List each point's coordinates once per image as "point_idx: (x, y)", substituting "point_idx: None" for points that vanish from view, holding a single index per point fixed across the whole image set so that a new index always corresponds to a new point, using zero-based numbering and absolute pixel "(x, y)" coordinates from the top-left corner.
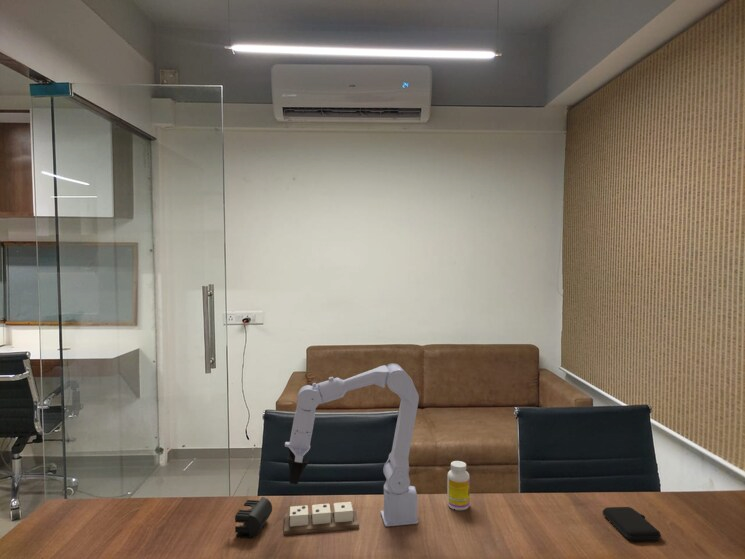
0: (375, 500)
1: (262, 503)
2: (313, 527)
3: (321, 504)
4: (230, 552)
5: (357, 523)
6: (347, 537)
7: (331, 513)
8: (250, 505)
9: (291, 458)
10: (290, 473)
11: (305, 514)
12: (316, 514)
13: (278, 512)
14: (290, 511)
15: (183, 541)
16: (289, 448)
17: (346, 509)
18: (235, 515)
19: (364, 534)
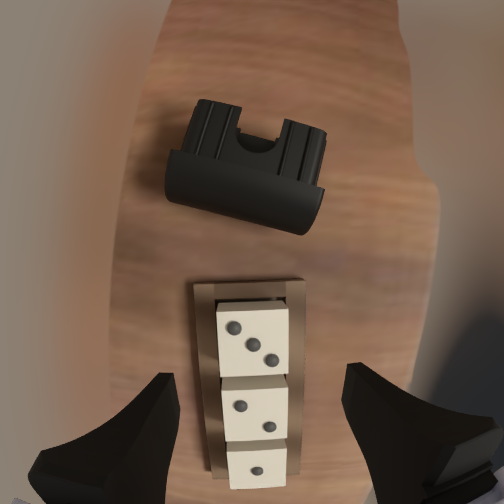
0: (341, 497)
1: (273, 194)
2: (205, 376)
3: (284, 416)
4: (132, 129)
5: (216, 477)
6: (174, 446)
7: None
8: (276, 145)
9: (72, 501)
10: (123, 413)
11: (221, 367)
12: (222, 401)
13: (341, 252)
14: (250, 312)
15: (213, 11)
16: (434, 447)
17: (239, 477)
18: (201, 99)
19: (186, 477)
